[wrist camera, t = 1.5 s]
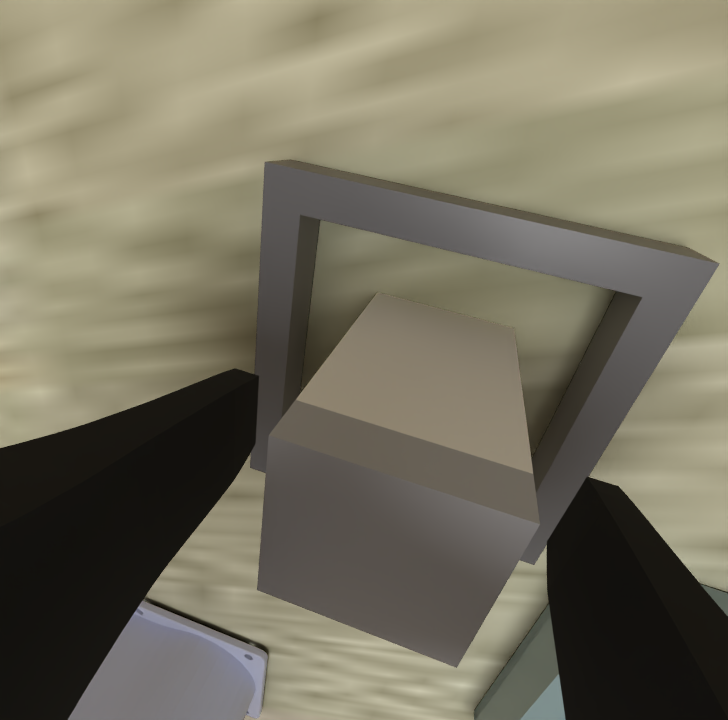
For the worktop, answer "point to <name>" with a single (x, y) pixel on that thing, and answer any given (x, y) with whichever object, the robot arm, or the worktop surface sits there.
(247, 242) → the worktop surface
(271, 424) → the socket collar
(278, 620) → the worktop surface
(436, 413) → the tan rectangular block
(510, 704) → the parts tray
